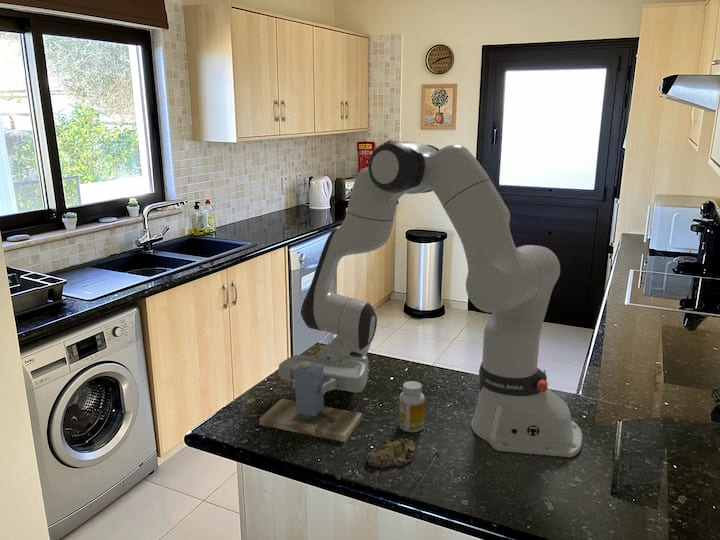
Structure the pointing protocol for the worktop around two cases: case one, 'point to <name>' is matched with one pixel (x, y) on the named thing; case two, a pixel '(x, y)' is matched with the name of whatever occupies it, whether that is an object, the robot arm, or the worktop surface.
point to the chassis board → (312, 421)
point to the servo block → (309, 388)
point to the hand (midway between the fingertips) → (307, 388)
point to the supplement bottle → (411, 407)
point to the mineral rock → (392, 453)
